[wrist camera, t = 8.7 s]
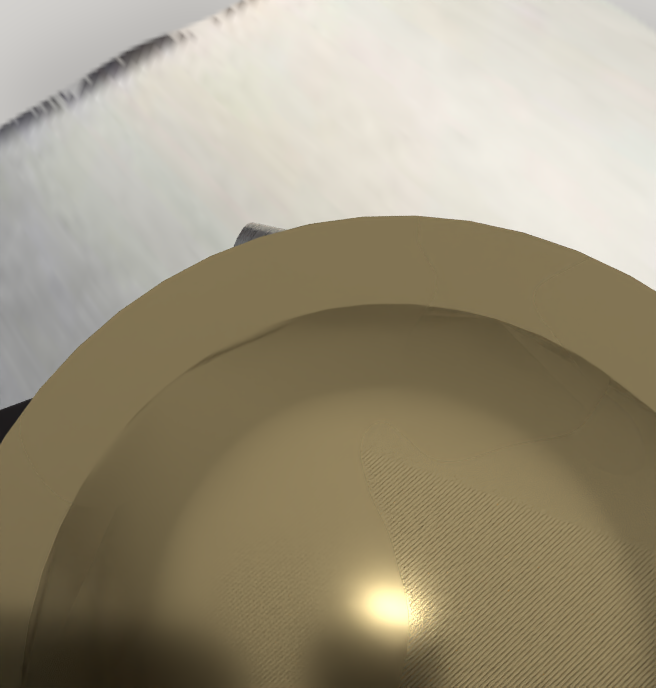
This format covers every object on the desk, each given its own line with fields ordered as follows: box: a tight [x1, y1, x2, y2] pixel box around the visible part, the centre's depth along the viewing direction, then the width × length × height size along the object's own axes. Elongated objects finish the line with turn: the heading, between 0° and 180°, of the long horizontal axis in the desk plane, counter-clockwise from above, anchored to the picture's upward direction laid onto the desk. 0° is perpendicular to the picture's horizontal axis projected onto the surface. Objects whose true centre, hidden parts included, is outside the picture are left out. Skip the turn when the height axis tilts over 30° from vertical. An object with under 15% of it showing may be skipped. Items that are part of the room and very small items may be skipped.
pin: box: [0, 216, 656, 688], centre depth 9 cm, size 5×5×13 cm
